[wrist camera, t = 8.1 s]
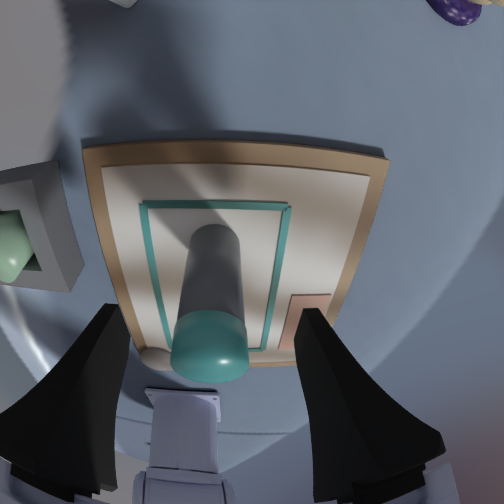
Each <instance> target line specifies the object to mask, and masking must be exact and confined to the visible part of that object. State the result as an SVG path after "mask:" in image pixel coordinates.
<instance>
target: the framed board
mask: <svg viewBox="0 0 504 504" xmlns="http://www.w3.org/2000/svg"><path fill="white" fill-rule="evenodd" d="M82 152H83V159H84V166H85V172H86V178H87V184H88V190H89V195H90V200H91V205H92V209H93V214H94V218H95V223H96V227H97V231H98V235H99V239H100V243H101V246H102V250H103V254H104V257H105V261H106V264H107V267H108V271H109V274H110V277H111V280H112V283H113V286H114V289H115V292H116V295H117V298H118V301H119V304H120V306H121V309H122V312H123V315H124V317H125V320H126V322H127V325H128V328H129V330H130V333H131V335H132V338H133V340H134V342H135V345H136V347H137V349H138V352H139V354H140V359H141V361H142V363H143V364H145V365H146V366H148V367H150V368H152V369H155V370H160V371H170V370H173V368H172V367H171V365H170V356H171V348H172V341H173V333H174V326H175V324H176V322H177V315H178V308H179V302H180V295H181V289H182V283H183V277H184V272H185V266H186V260H187V255H188V250H189V244H190V239H191V237H192V235H193V233H194V232H195V231H196V230H197V229H199V228H200V227H202V226H205V225H208V224H220V225H224V226H226V227H228V228H230V229H231V230H233V231H234V232H235V233H236V235H237V236H238V238H239V242H240V255H241V270H242V286H243V301H244V315H245V327H246V329H247V338H248V351H249V367H273V366H292V365H297V363H296V357H295V348H294V336H295V333H296V330H297V327H298V323H299V320H300V317H301V314H302V310H303V308H319V309H320V311H321V312H322V314H323V315H324V317H325V318H326V320H327V321H328V323H329V324H330V326H331V327H333V324H334V322H335V320H336V318H337V315H338V313H339V311H340V308H341V306H342V304H343V301H344V299H345V296H346V294H347V291H348V289H349V287H350V284H351V281H352V279H353V276H354V274H355V271H356V268H357V266H358V263H359V260H360V258H361V255H362V252H363V249H364V246H365V244H366V241H367V238H368V235H369V232H370V229H371V226H372V223H373V220H374V216H375V213H376V210H377V207H378V203H379V200H380V197H381V193H382V190H383V186H384V183H385V179H386V175H387V172H388V168H389V164H390V160H388V159H387V158H385V157H380V156H375V155H370V154H364V153H358V152H352V151H346V150H339V149H332V148H325V147H317V146H309V145H299V144H289V143H278V142H264V141H247V140H216V139H185V140H155V141H138V142H125V143H114V144H104V145H95V146H87V147H85V148H84V149H82Z"/></svg>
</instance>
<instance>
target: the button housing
mask: <svg viewBox="0 0 504 504" xmlns="http://www.w3.org/2000/svg"><path fill="white" fill-rule="evenodd" d="M8 210H20V213H21V216H22V219H23V222H24V225H25V228H26V231H27V234H28V237H29V240H30V242H31V245H32V248H33V250H34V253H33V255H32V256H31V258H30V259H29V260H28V262H27V263H26V265H25V266H24V267H23V269H22V270H21V272H20V273H19V275H18V276H17V278H16V279H15V281H13V282H11V283H6V282H2V281H0V284H1V285H8V286H16V287H23V288H31V289H40V290H49V291H58V292H68V293H70V292H71V290H72V288H73V286H74V284H75V282H76V280H77V278H78V277H79V275H80V273H81V271H82V269H83V267H84V266H85V265H84V262H83V259H82V256H81V253H80V250H79V247H78V243H77V240H76V237H75V233H74V230H73V226H72V223H71V219H70V215H69V211H68V207H67V203H66V199H65V195H64V190H63V185H62V181H61V176H60V170H59V165H58V160H55V161H48V162H42V163H37V164H31V165H27V166H21V167H16V168H12V169H7V170H3V171H0V212H1V211H8Z"/></svg>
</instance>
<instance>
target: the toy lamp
mask: <svg viewBox="0 0 504 504" xmlns="http://www.w3.org/2000/svg"><path fill="white" fill-rule="evenodd" d="M427 1H428V3H429V4H430V5H431V6H432V8H433V9H434V10H435V11H436V12H437V13H438V14H439V15H440V16H441V17H442V18H444V19H445V20H446V21H448V22H449V23H452V24H454V25H457V26H464V25H468V24H471V23H473V22H475V21H476V20H477V19H478V18H479V16H480V13H481V8H482V5H488V4H491V3H494V4H497V5H500V6H504V0H427Z"/></svg>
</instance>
